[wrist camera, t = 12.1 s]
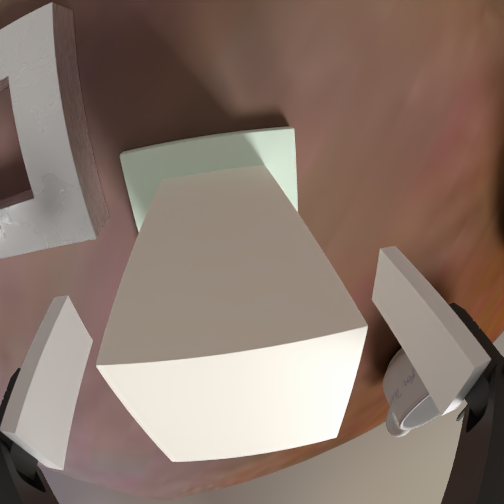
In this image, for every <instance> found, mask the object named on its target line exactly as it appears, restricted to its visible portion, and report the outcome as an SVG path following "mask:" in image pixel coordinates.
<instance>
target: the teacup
mask: <svg viewBox="0 0 504 504" xmlns="http://www.w3.org/2000/svg"><path fill="white" fill-rule="evenodd" d="M383 390H384V394H385V396H386V399H387V401H388V403H389V405H390V406H389V409H388V413H387V417H386V426H387V429H388V431H389V433H390V434H391V435H393V436H395V437H401V436H404V435H406V434H407V433H408V432H409V431H410V429H412V428H416V427H419V426H421V425H423V424H425V423H427V422H429V421H431V420H433V419H434V418H436V417H438V416H439V415H440V412H439V410H438V408H437V407H436V405H435V403H434V401H433V399H432V398H431V396H430V394H429V392H428V390H427V389H426V387H425V385H424V383H423V382H422V380H421V378H420V377H419V375H418V373H417V371H416V370H415V368H414V366H413V365H412V363H411V361H410V360H409V358H408V356H407V355H406V353H405V351H404V350H403V348H401V349H400V350H399V351H398V352H397V353H396V354H395V355H394V357H393V358H392V359H391V361H390V363H389V365H388V368H387V371H386V373H385V376H384V379H383ZM396 418H397V420H398V422H399V426H400V428H401V429H399V428H398V426H397V425H396Z"/></svg>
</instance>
